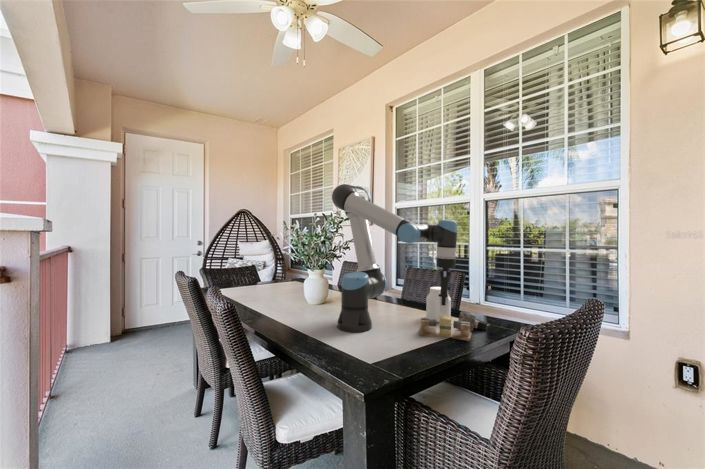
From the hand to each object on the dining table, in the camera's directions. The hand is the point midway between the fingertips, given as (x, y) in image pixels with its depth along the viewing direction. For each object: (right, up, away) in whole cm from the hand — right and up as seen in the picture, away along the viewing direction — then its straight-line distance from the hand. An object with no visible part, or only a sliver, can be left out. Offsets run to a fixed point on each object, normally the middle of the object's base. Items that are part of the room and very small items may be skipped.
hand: (443, 309), depth 135 cm
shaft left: (-6, -10, +2) cm, 12 cm away
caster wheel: (+15, -11, +9) cm, 21 cm away
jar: (+4, -10, +23) cm, 25 cm away
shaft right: (+6, -11, -3) cm, 13 cm away
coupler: (+1, -11, 0) cm, 10 cm away
